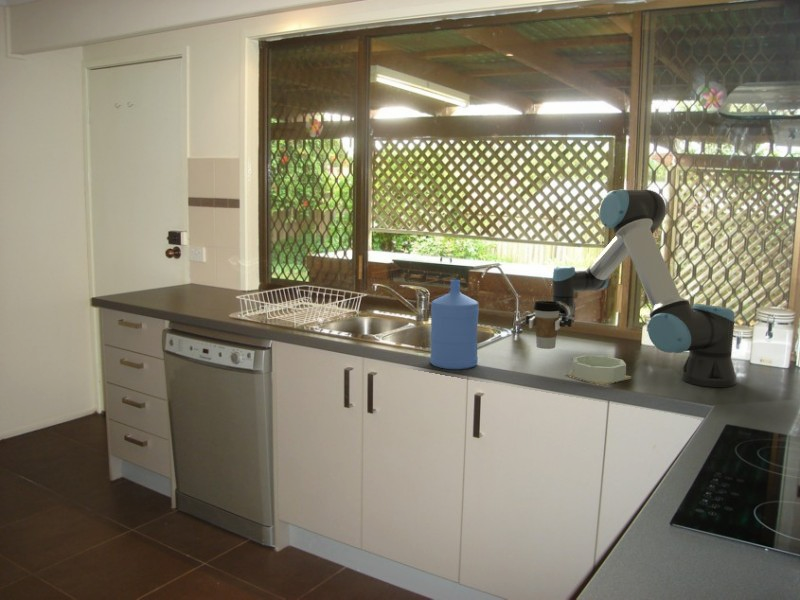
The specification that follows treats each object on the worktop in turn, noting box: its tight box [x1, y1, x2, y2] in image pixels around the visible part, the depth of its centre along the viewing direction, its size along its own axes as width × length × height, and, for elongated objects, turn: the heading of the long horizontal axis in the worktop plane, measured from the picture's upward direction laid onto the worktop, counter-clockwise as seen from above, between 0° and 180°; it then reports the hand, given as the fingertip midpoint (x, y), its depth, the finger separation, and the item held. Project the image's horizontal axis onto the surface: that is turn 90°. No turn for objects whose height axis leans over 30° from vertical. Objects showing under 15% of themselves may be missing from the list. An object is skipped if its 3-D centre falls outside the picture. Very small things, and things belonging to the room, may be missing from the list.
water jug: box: [429, 279, 480, 370], centre depth 223 cm, size 16×16×28 cm
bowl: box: [565, 354, 632, 387], centre depth 210 cm, size 15×15×5 cm
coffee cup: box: [533, 300, 560, 350], centre depth 220 cm, size 8×8×15 cm
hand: (543, 325), depth 216 cm, fingers closed on coffee cup, 8 cm apart
